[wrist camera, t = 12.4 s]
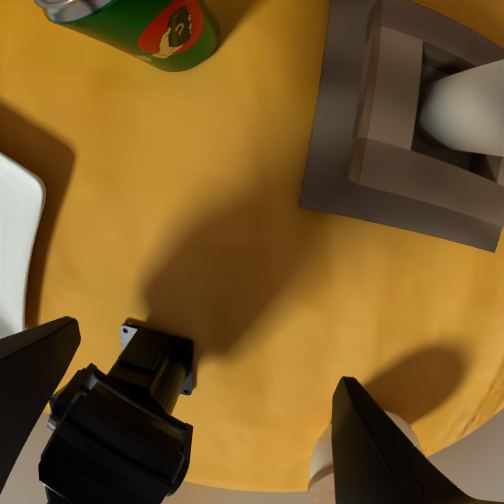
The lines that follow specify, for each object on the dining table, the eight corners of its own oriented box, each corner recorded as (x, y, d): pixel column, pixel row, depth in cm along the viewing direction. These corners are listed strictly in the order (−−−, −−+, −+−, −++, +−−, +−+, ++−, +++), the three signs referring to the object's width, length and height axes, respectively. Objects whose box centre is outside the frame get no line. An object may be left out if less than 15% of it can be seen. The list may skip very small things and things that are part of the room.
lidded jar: (419, 424, 25) (440, 491, 17) (334, 460, 28) (338, 527, 20) (390, 372, 23) (418, 458, 14) (286, 419, 26) (283, 502, 17)
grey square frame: (490, 250, 18) (519, 270, 14) (298, 205, 19) (302, 221, 15) (518, 63, 13) (549, 57, 9) (332, -18, 13) (341, -48, 9)
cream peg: (459, 156, 16) (567, 180, 7) (405, 137, 16) (507, 142, 7) (467, 96, 14) (572, 85, 5) (413, 74, 15) (508, 33, 5)
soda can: (226, 8, 15) (165, -106, 4) (214, 75, 17) (121, -2, 5) (155, 10, 15) (50, -67, 4) (142, 74, 17) (9, 33, 6)
